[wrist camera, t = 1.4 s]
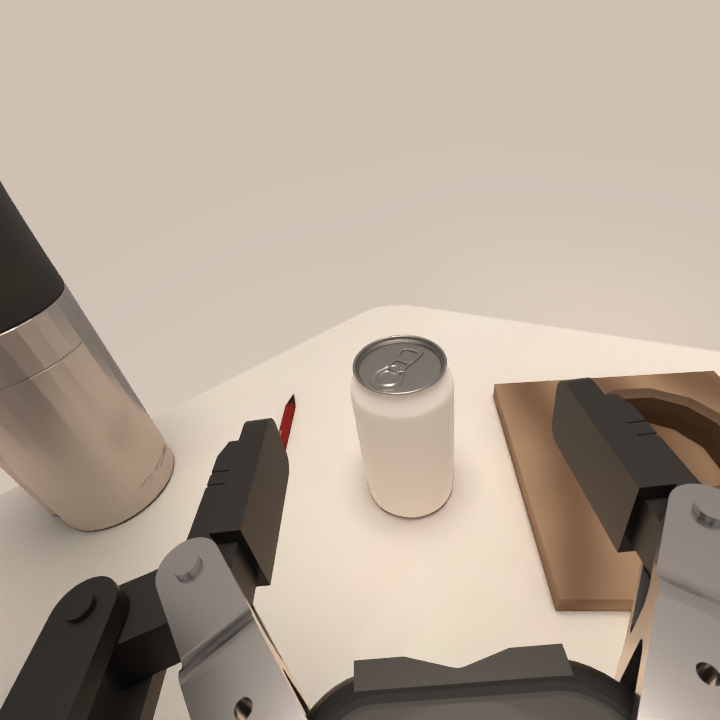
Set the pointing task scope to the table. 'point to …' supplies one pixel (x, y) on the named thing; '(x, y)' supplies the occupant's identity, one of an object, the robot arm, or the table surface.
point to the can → (405, 423)
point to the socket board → (564, 495)
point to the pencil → (287, 421)
